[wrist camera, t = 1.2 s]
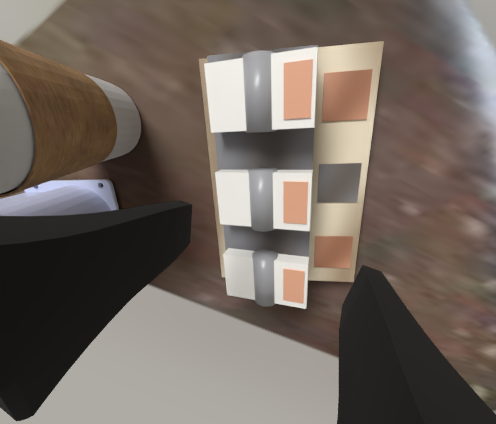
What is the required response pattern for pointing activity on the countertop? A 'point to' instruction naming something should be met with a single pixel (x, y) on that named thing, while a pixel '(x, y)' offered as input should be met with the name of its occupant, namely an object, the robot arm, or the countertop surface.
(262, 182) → the rocker middle
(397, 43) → the countertop surface
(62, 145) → the coffee cup
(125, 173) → the countertop surface
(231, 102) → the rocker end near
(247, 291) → the rocker end far
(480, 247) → the countertop surface
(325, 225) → the switch unit
